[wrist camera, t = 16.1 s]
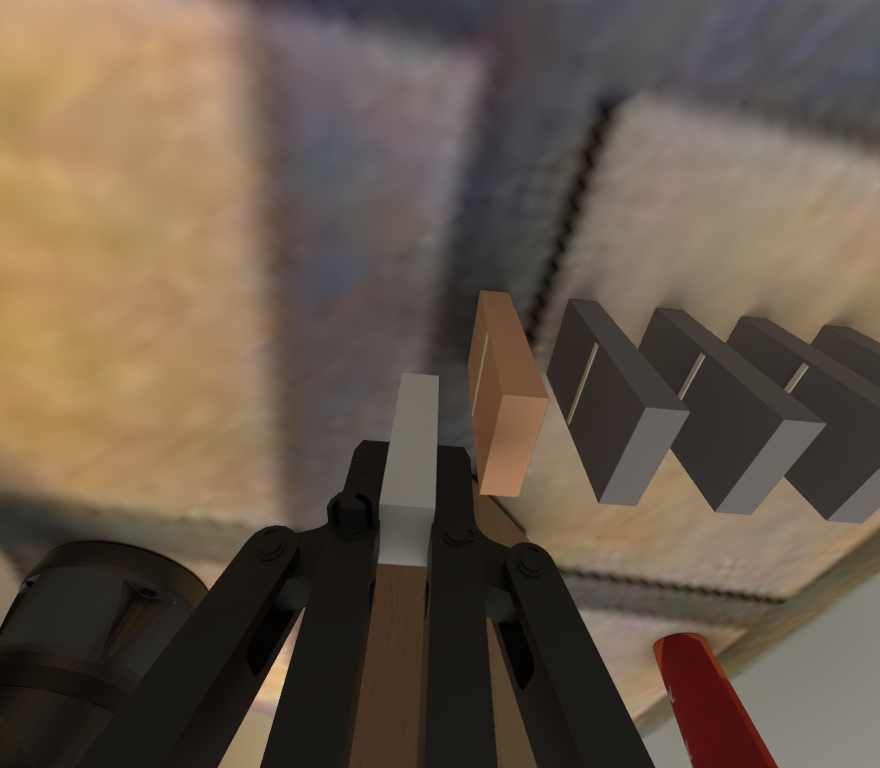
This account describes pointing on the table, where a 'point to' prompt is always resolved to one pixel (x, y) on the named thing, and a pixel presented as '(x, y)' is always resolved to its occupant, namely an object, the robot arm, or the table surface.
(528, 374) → the head domino
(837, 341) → the domino
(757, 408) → the domino
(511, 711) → the wooden block
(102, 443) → the table surface
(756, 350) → the domino
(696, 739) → the paper cup
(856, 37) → the table surface
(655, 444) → the domino
